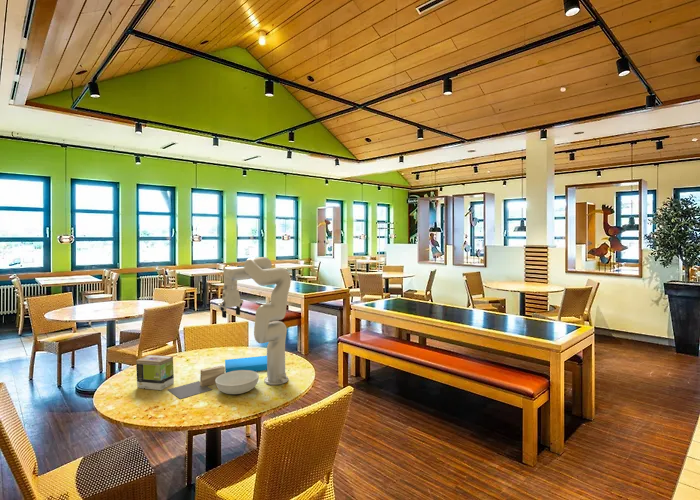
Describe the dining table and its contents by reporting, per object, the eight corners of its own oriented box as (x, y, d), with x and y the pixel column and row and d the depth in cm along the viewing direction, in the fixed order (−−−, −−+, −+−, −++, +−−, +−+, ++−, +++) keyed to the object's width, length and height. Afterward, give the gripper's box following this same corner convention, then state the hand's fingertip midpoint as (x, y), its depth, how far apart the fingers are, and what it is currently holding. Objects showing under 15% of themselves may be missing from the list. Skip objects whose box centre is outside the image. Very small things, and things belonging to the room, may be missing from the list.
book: (224, 359, 241) (267, 354, 249) (224, 367, 241) (267, 361, 249) (225, 369, 224) (270, 363, 232) (225, 376, 225) (271, 370, 233)
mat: (212, 390, 203) (212, 389, 203) (180, 399, 192) (180, 398, 192) (198, 382, 215) (198, 381, 215) (167, 390, 203) (167, 389, 203)
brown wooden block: (224, 381, 215) (224, 366, 215) (202, 386, 206) (202, 370, 206) (221, 380, 217) (222, 365, 217) (200, 385, 208) (200, 369, 208)
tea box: (174, 383, 213) (173, 356, 212) (160, 391, 203) (159, 362, 202) (150, 381, 217) (149, 354, 216) (136, 388, 207) (135, 359, 206)
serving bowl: (214, 386, 209) (214, 373, 209) (256, 380, 216) (255, 367, 216) (216, 402, 189) (216, 387, 189) (261, 395, 197) (261, 381, 196)
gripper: (221, 289, 232) (222, 319, 233) (246, 286, 246) (247, 314, 247) (214, 288, 237) (214, 317, 237) (238, 285, 250) (239, 313, 251)
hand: (231, 316), depth 242 cm, fingers open, 9 cm apart
